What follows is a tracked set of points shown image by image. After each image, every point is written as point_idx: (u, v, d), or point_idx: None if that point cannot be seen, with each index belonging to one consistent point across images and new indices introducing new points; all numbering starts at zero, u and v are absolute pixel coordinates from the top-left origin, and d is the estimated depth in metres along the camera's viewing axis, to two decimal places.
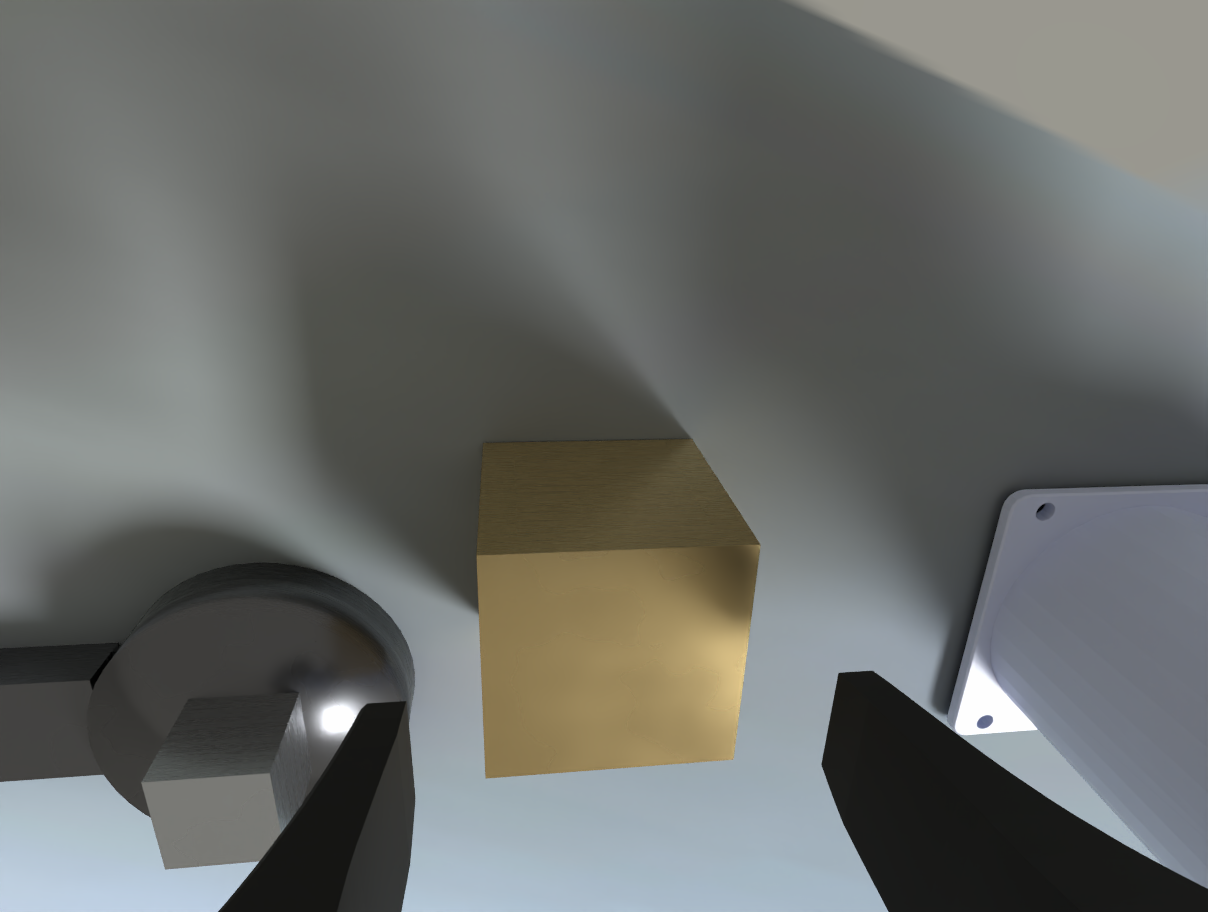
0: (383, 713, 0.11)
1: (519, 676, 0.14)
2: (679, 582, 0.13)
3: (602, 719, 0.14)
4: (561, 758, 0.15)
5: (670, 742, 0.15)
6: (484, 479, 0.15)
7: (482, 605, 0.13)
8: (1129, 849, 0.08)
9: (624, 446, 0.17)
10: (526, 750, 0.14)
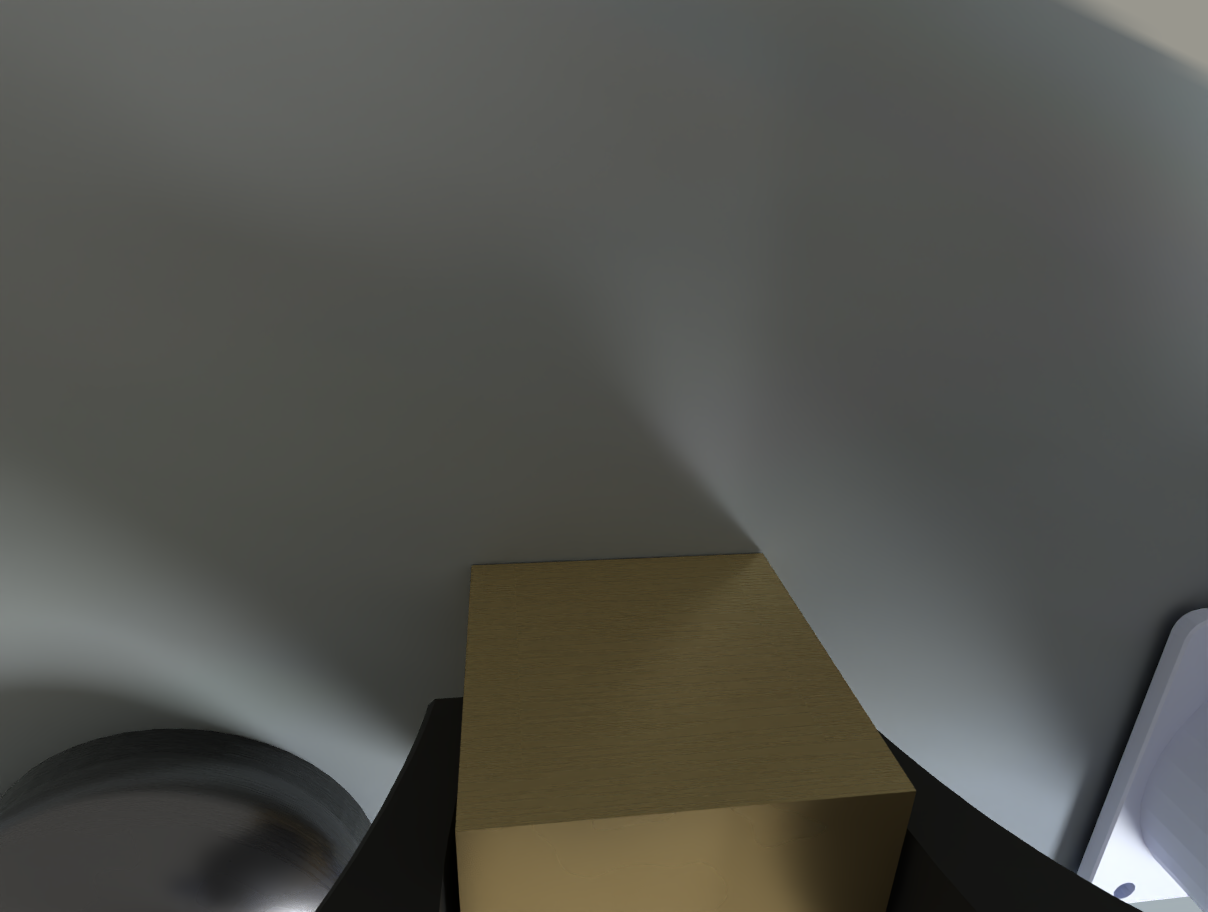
0: (454, 709, 0.11)
1: None
2: (785, 850, 0.08)
3: None
4: None
5: None
6: (472, 642, 0.10)
7: (466, 899, 0.08)
8: (1047, 857, 0.08)
9: (671, 568, 0.12)
10: None
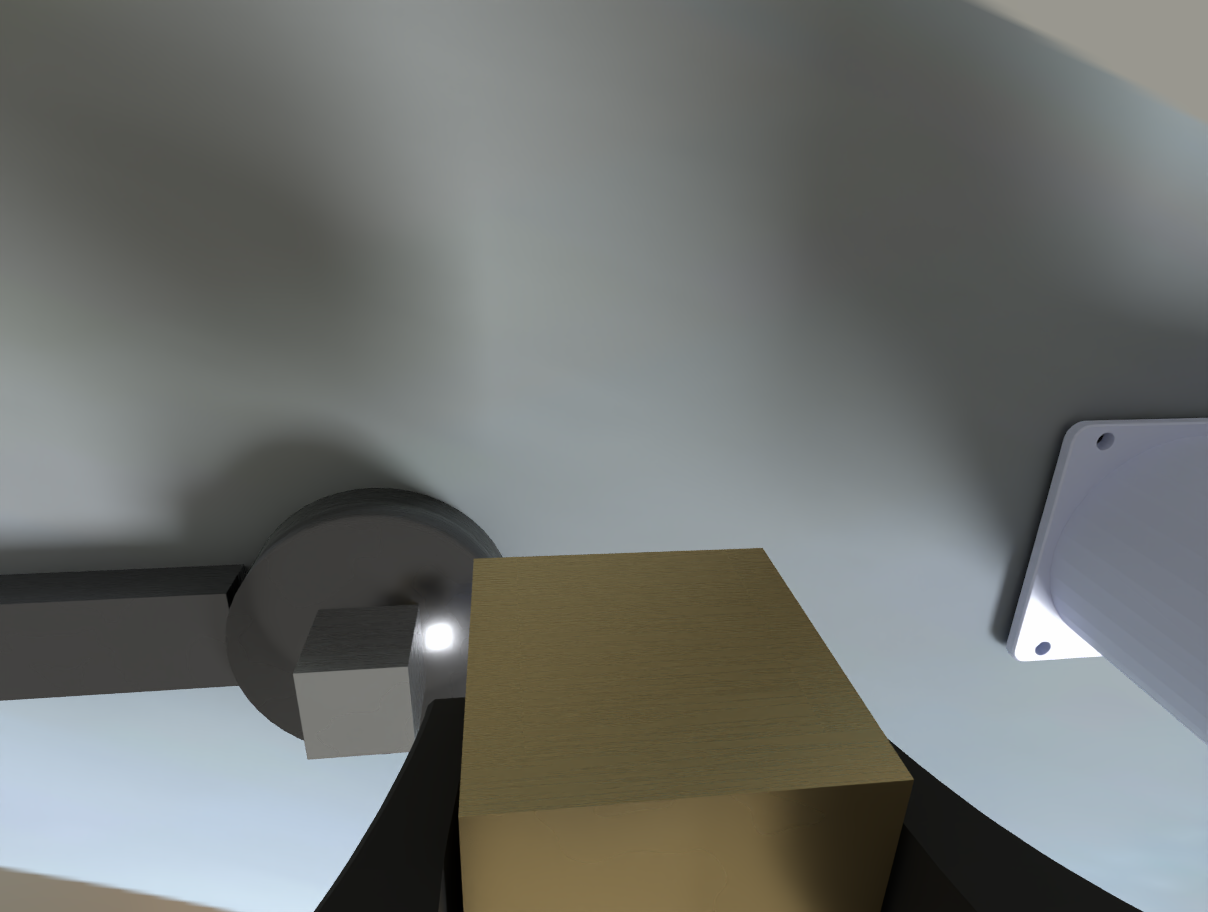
0: (453, 709, 0.11)
1: None
2: (784, 838, 0.08)
3: None
4: None
5: None
6: (474, 633, 0.10)
7: (468, 885, 0.08)
8: (1047, 858, 0.08)
9: (672, 563, 0.12)
10: None
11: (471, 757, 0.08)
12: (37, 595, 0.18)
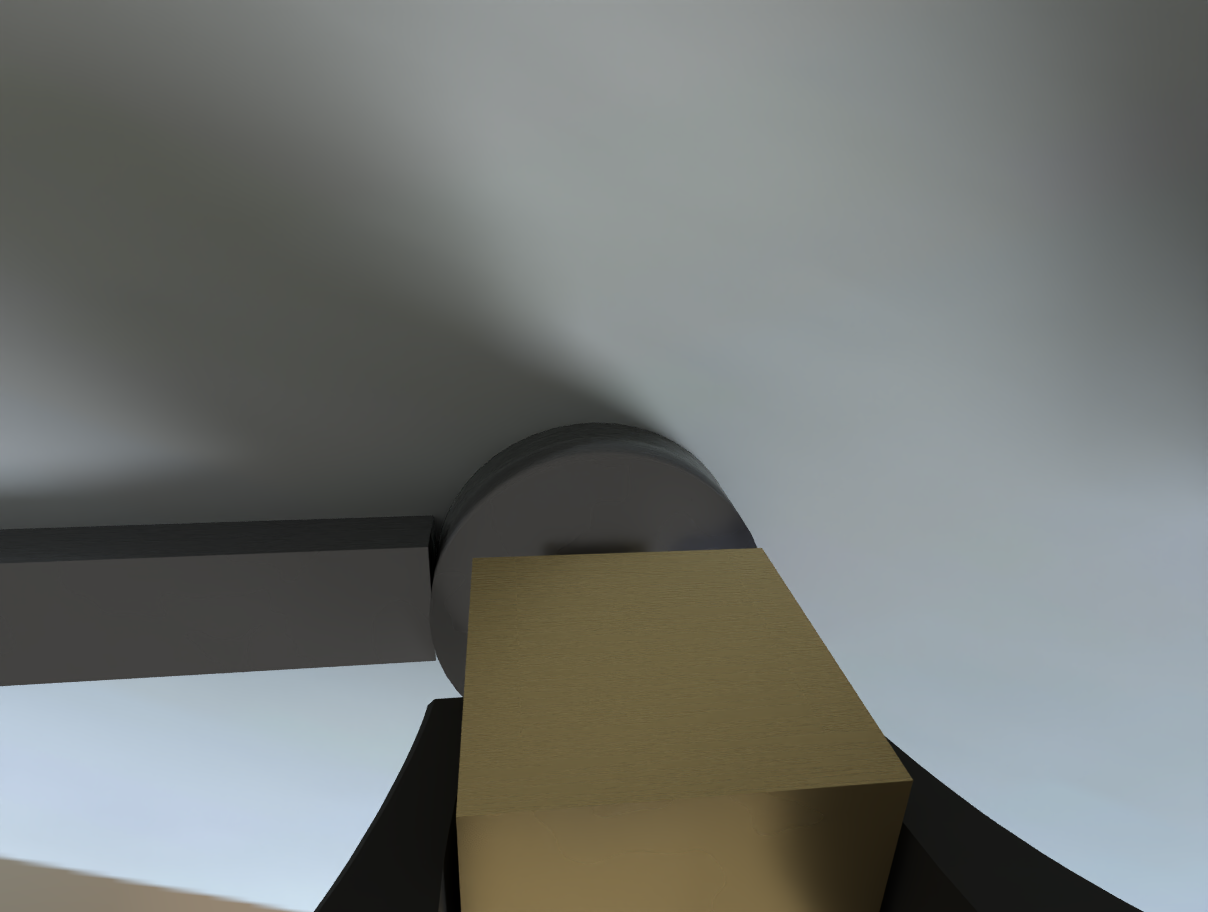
0: (453, 708, 0.11)
1: None
2: (782, 838, 0.08)
3: None
4: None
5: None
6: (473, 632, 0.10)
7: (466, 885, 0.08)
8: (1047, 857, 0.08)
9: (671, 562, 0.12)
10: None
11: (469, 757, 0.08)
12: (198, 548, 0.15)
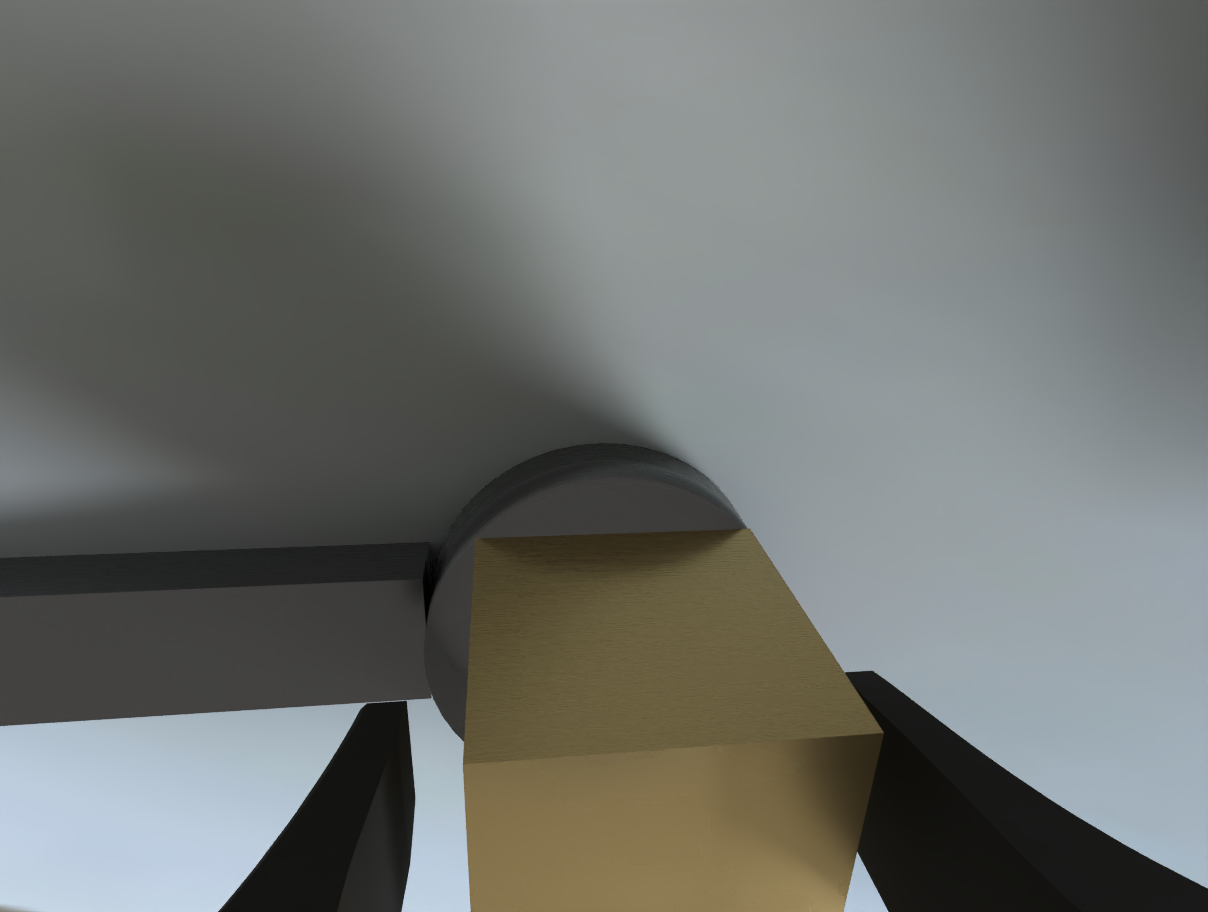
0: (383, 714, 0.11)
1: None
2: (763, 787, 0.09)
3: None
4: None
5: None
6: (476, 605, 0.11)
7: (472, 829, 0.09)
8: (1129, 849, 0.08)
9: (663, 542, 0.13)
10: None
11: (474, 713, 0.09)
12: (174, 580, 0.14)
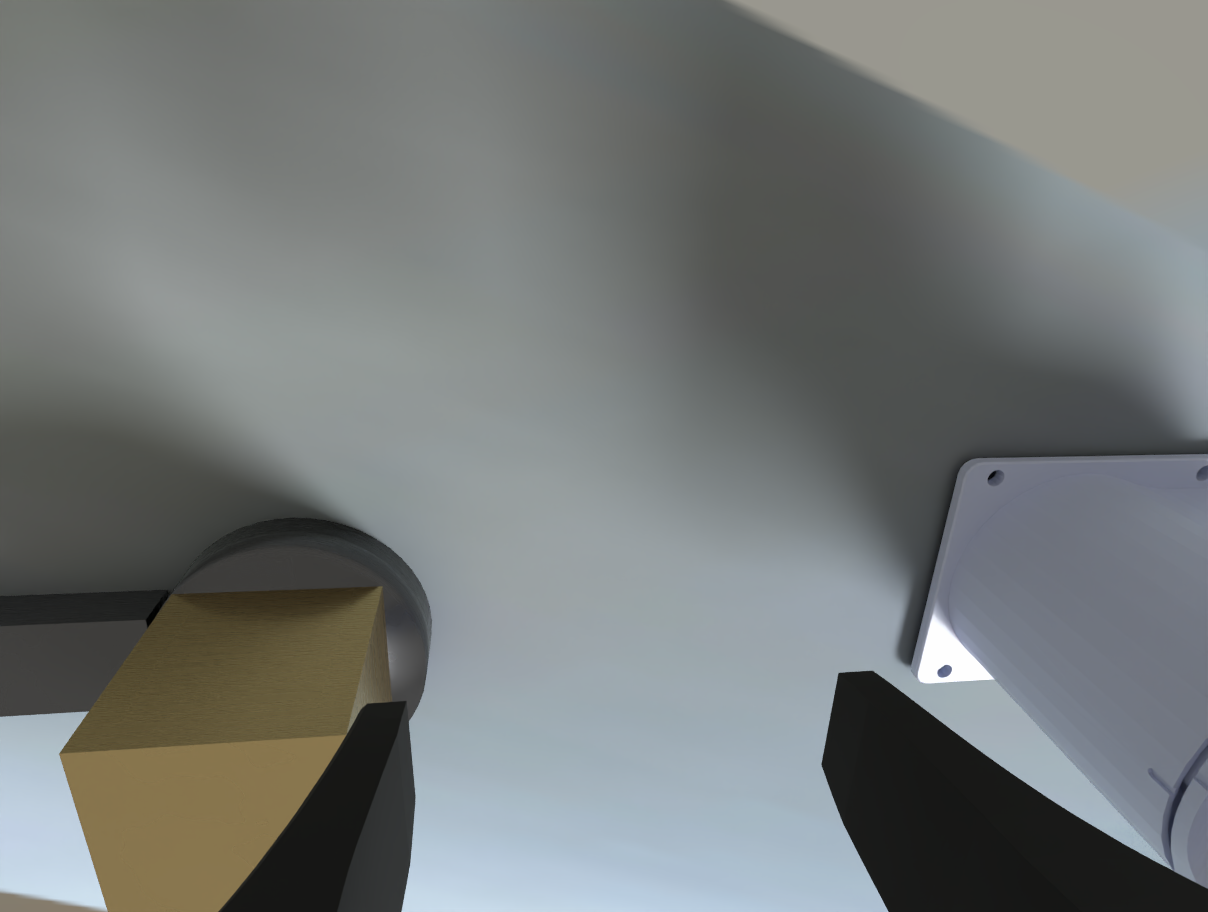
0: (383, 714, 0.11)
1: (129, 852, 0.15)
2: (272, 769, 0.14)
3: (223, 885, 0.15)
4: None
5: None
6: (138, 646, 0.16)
7: (76, 795, 0.14)
8: (1129, 849, 0.08)
9: (308, 597, 0.18)
10: None
11: (88, 722, 0.14)
12: None
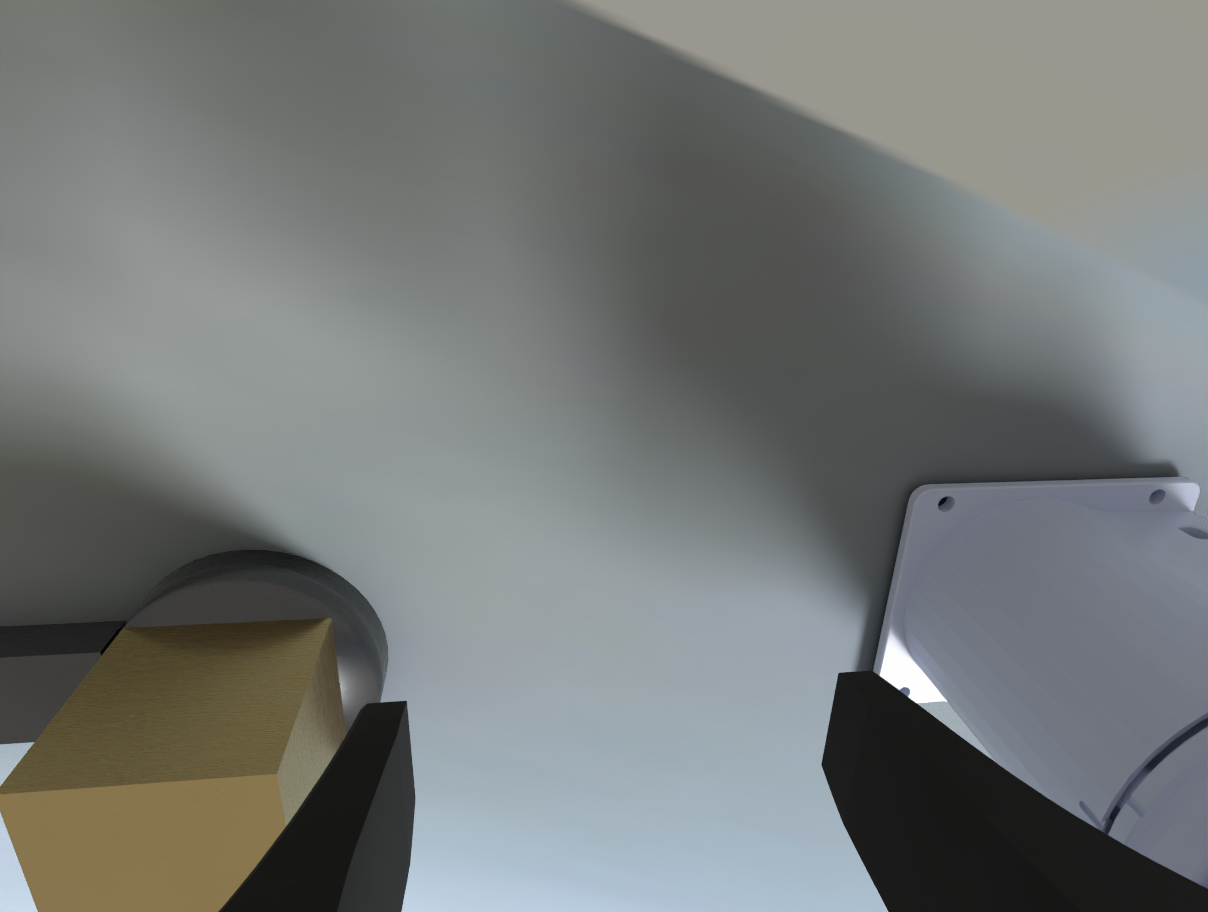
0: (383, 713, 0.11)
1: (68, 888, 0.15)
2: (205, 807, 0.15)
3: None
4: None
5: None
6: (83, 682, 0.17)
7: (12, 833, 0.14)
8: (1129, 849, 0.08)
9: (257, 630, 0.19)
10: None
11: (26, 761, 0.15)
12: None
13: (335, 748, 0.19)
